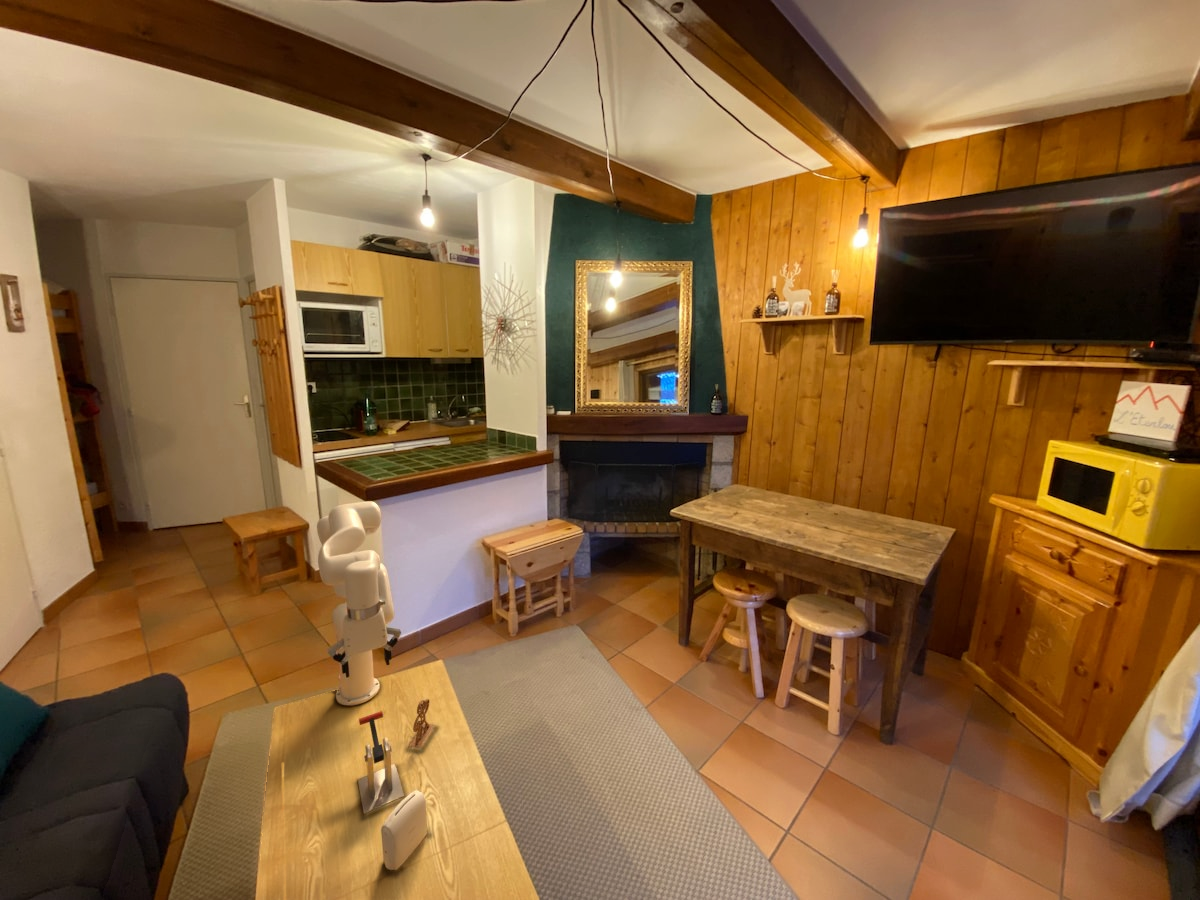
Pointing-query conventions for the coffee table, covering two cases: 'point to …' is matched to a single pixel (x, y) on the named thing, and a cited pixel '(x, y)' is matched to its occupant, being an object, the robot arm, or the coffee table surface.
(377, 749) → the lever
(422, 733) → the brown filigree ornament
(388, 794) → the bracket
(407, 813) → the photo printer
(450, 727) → the coffee table surface
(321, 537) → the robot arm
